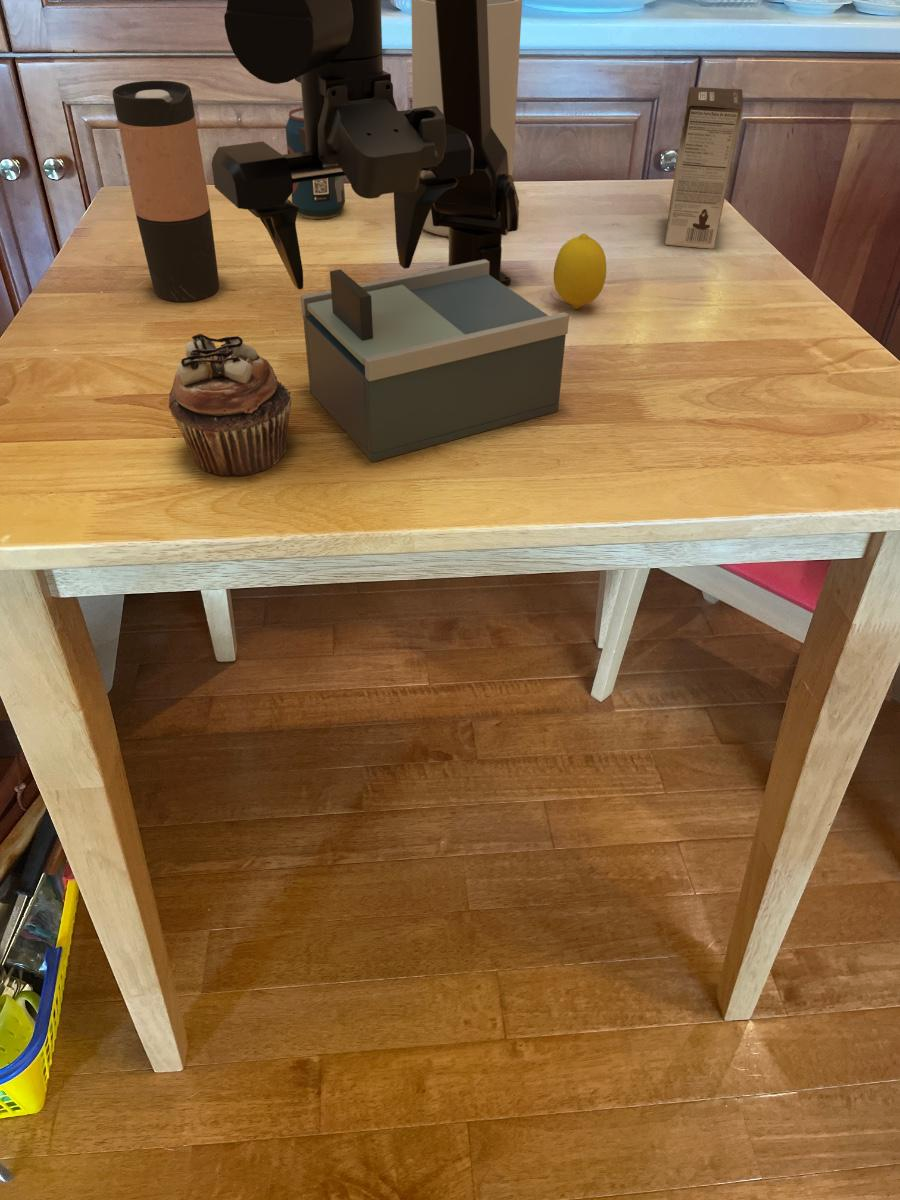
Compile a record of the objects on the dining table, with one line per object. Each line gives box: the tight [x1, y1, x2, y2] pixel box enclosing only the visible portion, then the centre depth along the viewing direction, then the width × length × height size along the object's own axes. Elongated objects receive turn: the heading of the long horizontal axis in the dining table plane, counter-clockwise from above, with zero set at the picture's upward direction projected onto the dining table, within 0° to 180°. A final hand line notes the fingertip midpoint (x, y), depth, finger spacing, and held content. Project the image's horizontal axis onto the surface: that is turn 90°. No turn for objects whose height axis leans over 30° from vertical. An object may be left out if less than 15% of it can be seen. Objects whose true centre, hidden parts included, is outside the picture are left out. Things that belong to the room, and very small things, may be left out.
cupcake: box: [168, 333, 292, 477], centre depth 75 cm, size 10×10×10 cm
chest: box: [299, 259, 570, 463], centre depth 82 cm, size 14×19×9 cm
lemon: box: [553, 233, 607, 310], centre depth 98 cm, size 6×6×8 cm
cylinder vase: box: [410, 0, 523, 238], centre depth 112 cm, size 12×12×25 cm
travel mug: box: [112, 80, 220, 303], centre depth 97 cm, size 8×8×20 cm
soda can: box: [285, 107, 346, 220], centre depth 119 cm, size 7×7×12 cm
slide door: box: [307, 268, 465, 365], centre depth 76 cm, size 12×9×4 cm
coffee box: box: [664, 86, 744, 250], centre depth 113 cm, size 9×6×16 cm
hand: (352, 276), depth 73 cm, fingers open, 9 cm apart
